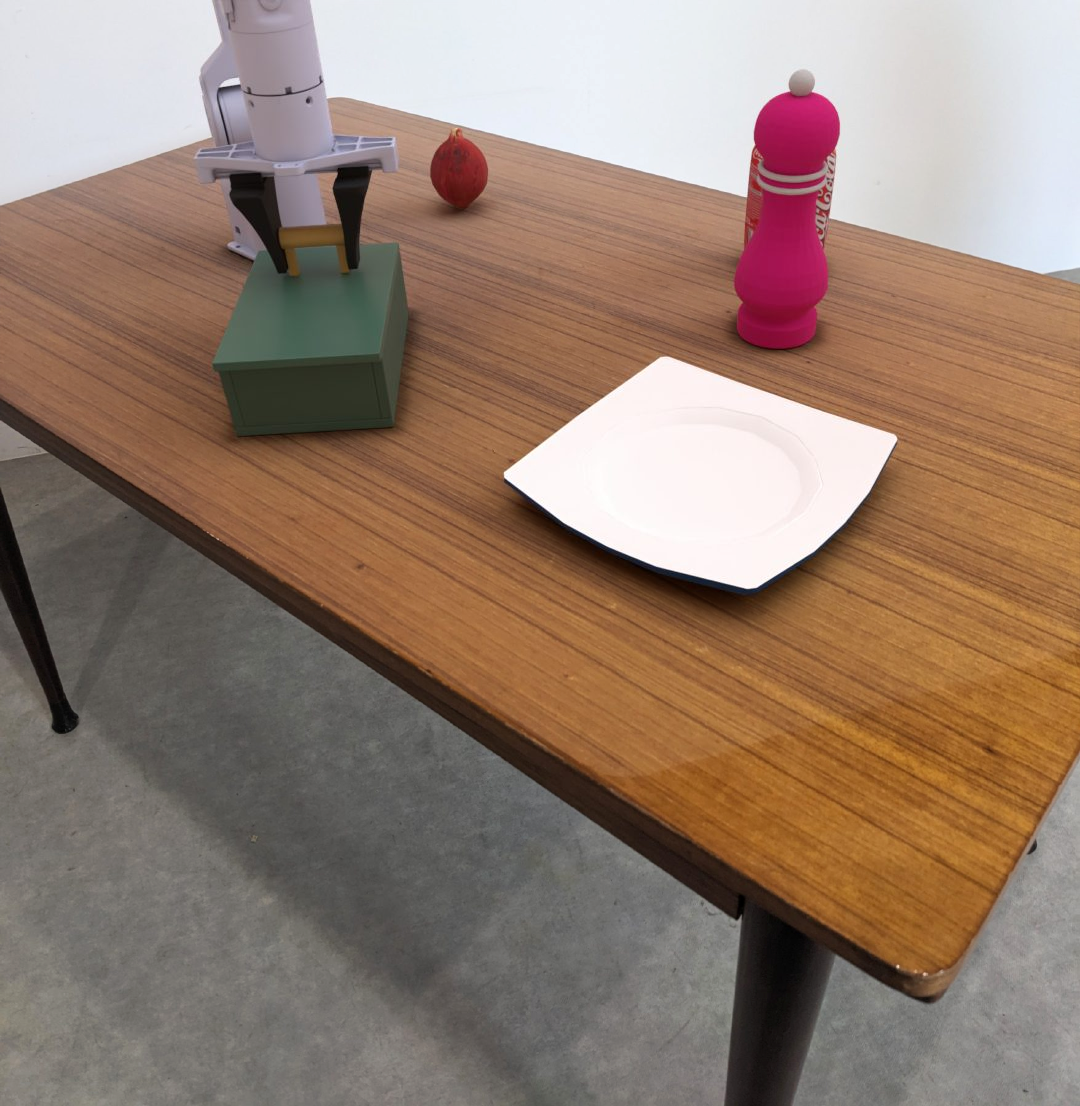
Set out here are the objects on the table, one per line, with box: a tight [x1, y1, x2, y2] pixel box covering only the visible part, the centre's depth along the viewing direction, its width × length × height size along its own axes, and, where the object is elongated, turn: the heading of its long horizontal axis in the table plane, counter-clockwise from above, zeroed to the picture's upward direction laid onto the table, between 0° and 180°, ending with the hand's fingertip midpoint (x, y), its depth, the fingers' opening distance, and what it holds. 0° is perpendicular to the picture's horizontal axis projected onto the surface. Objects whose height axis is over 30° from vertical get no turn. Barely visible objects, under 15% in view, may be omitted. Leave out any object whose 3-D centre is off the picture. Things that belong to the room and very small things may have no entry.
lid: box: [211, 223, 401, 372], centre depth 78 cm, size 18×12×4 cm, turn 2°
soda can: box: [743, 145, 837, 251], centre depth 90 cm, size 7×7×12 cm
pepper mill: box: [733, 68, 841, 350], centre depth 79 cm, size 7×7×20 cm
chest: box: [217, 250, 410, 437], centre depth 82 cm, size 18×12×6 cm, turn 2°
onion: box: [429, 126, 489, 210], centre depth 105 cm, size 6×6×8 cm
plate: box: [503, 356, 899, 596], centre depth 69 cm, size 20×20×3 cm
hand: (318, 266), depth 82 cm, fingers closed on lid, 5 cm apart
